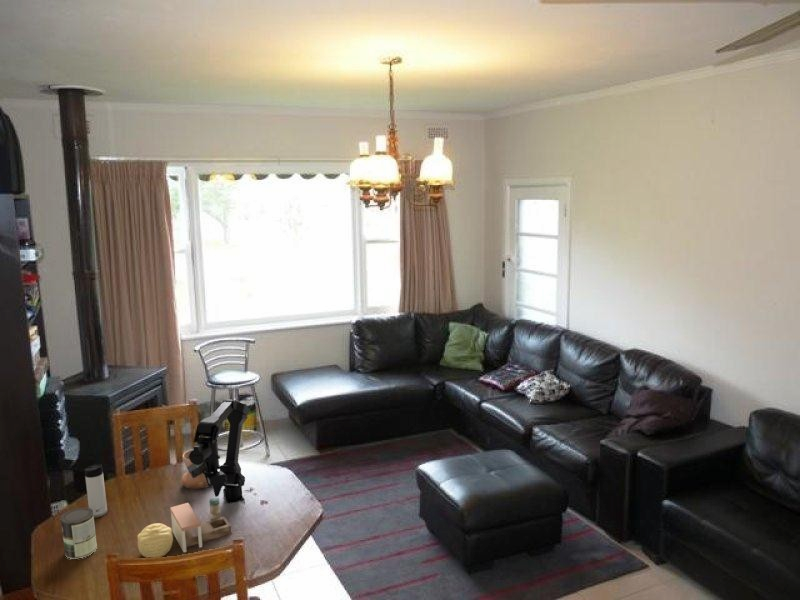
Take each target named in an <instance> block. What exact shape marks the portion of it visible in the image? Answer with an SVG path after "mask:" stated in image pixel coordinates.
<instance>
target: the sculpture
mask: <svg viewBox="0 0 800 600" xmlns="http://www.w3.org/2000/svg"><path fill="white" fill-rule="evenodd" d="M136 538H137V548H138V551H139V553H140V554H141V556H143V557H144V558H147V559H149V558H148V557H159V558H162V557H164V556H165V555H167V554H168V553H169V552H170V551H171V548H172V546H173V543H174V542H173V541H174V534H173V530H172V527H169V526H167V525H166V524H164V523H159V522H156V523H151V524H149V525H147V526H145V527H144V528H143V529H142V530H141V531H140V533H139V534H137V537H136Z"/></svg>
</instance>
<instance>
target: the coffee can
mask: <svg viewBox="0 0 800 600" xmlns="http://www.w3.org/2000/svg"><path fill="white" fill-rule="evenodd" d="M60 524H61V533H62V539H63V546H64V556H66V557H67V558H66V557H65V558H66V559H68V558H70V559H69V560H71V559H78V558H82V559H84V558H83V557H85V558H87V557H86V556H88V557H90V556H92V555H93V554H94V553H95V552H96V551H97V550H98V546H97V545H98V544H97V536H96V535H97V534H96V526H95V517H93V510H92V509H90V508H89V507H77V508H73V509H70V510H68V511H66V512H65V513H63V514H62V515H61V516H60ZM96 549H97V550H96ZM93 552H94V553H93ZM92 553H93V554H92ZM91 554H92V555H91ZM89 555H90V556H89ZM78 560H79V559H78Z"/></svg>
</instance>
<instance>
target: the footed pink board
mask: <svg viewBox="0 0 800 600" xmlns="http://www.w3.org/2000/svg"><path fill="white" fill-rule="evenodd" d="M169 511H170V515H171V517H170V518H171V529H172V535H173V536H174V537H175V539H176V541H177V543H178V545H179V546H180V549H181V550H182V552H183V553H187V547H186V539H185V530H188V529H192V528H195V527H197V531H198V548H202V547H203V542H202V536H201V523H202V522H201V521H200V519H199V518H198V515H197V514H196V513H195V511H194V510H193V508H192V506H191V504H190V503H189V502H185V503H182V504H178V505H174V506H171V507H170V509H169Z"/></svg>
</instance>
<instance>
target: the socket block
mask: <svg viewBox="0 0 800 600" xmlns="http://www.w3.org/2000/svg"><path fill="white" fill-rule="evenodd" d="M232 532H233V531H232V525H231V523H230V521H228V520H227V518H226V517H225V516H224V515H223V516H220V518H217V519H213V520H211V519H210V520H207V521H202V522H201V536H202V543H204V542H208V541H210V540H213V539H217V538H220V537H223V536H227V535H230V534H232ZM185 539H186V548H188V547H191V546H194V545H197V544H198V545H199V543H198V531H197V527H195V528H192V529H188V530H185Z"/></svg>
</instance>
